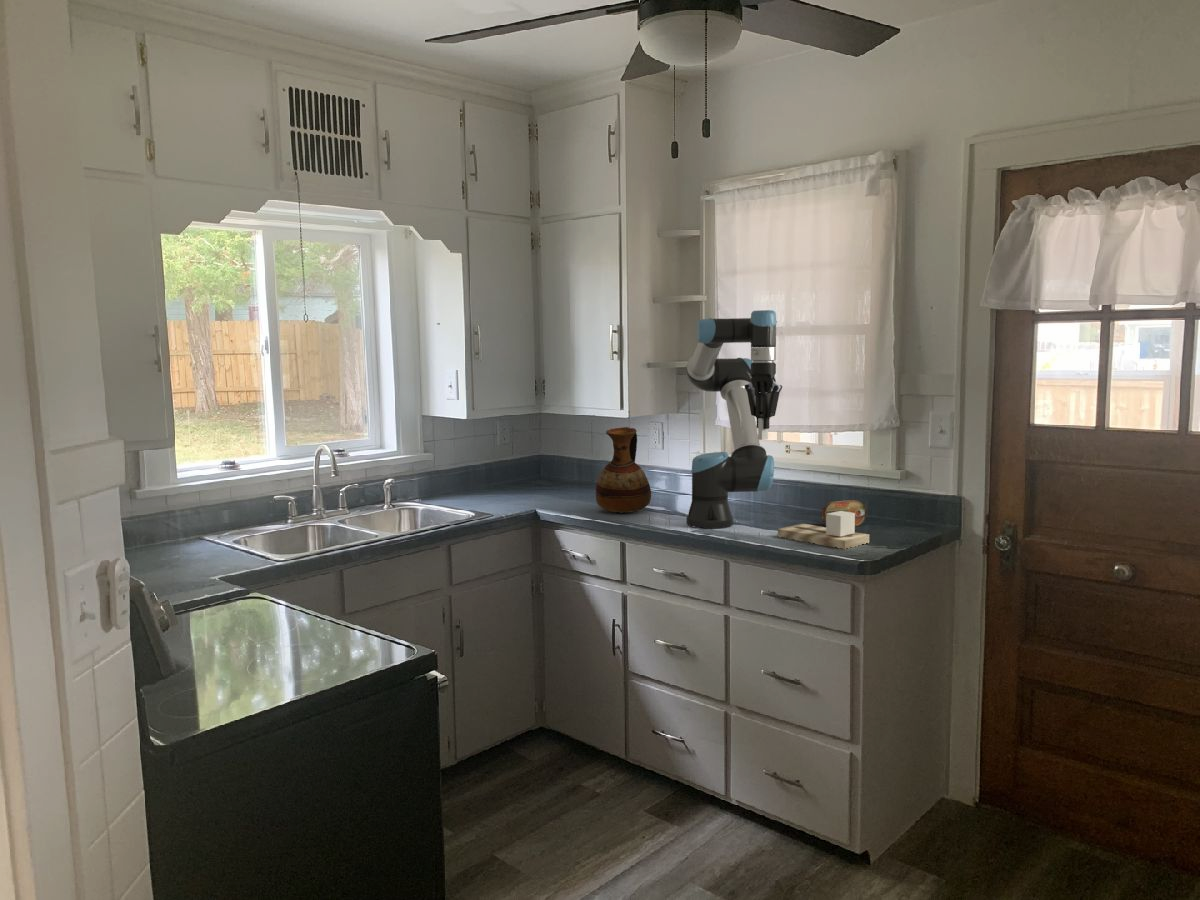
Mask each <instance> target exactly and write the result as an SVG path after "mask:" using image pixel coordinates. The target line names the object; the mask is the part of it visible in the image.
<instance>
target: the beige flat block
mask: <svg viewBox="0 0 1200 900" xmlns="http://www.w3.org/2000/svg"><path fill="white" fill-rule="evenodd" d="M778 536H780V537H779V538H781V537H785V538H784V539H786V538H790V539H789V540H792V539H795V540H794V541H797V540H799V541H798V542H802V541H805V542H804V543H808V542H810V543H809V544H813V543H815V544H814V545H820V546H823V547H824V546H826V547H829V548H830V547H831V548H835V547H837V549H840V548H843V549H842V550H847V549H846V548H848V549H851V548H850V547H852V548H856V547H859V546H858V545H860V546H863V545H862V544H864V545H866V543H868V544H869V543H870V534H867V533H862V532H855V533H853V534H849V535H845V536H841V537H839V536H834V535H828V534H826V526H825V527H824V526H821V525H819V526H818V525H814V524H808V523H800V524H794V525H790V526H785V527H781V528H778V529H777V537H778ZM855 546H856V547H855Z"/></svg>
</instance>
